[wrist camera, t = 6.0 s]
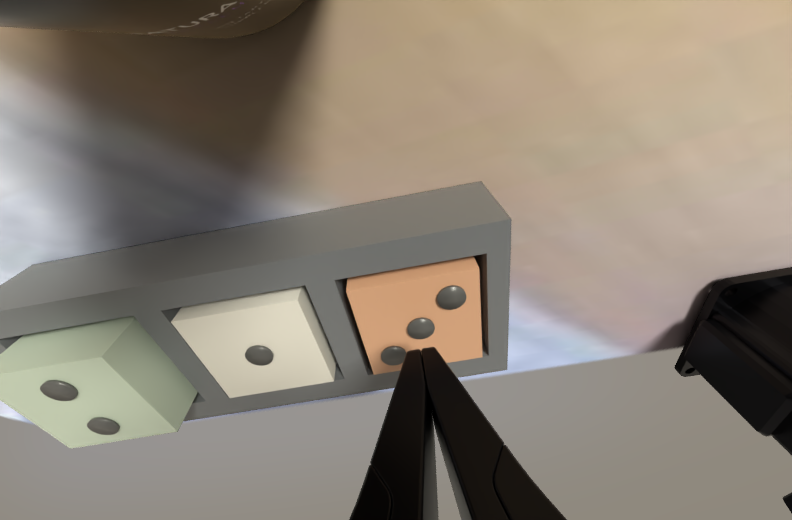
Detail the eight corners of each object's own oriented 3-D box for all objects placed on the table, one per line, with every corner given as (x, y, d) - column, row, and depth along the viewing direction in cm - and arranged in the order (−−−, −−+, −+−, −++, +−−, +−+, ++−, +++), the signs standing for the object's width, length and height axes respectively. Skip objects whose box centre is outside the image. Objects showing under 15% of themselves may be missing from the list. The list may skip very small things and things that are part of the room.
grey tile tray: (481, 181, 11) (511, 218, 9) (485, 316, 15) (506, 369, 13) (32, 264, 12) (-55, 320, 10) (138, 373, 16) (94, 435, 13)
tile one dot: (310, 255, 12) (296, 302, 10) (339, 331, 14) (334, 383, 12) (205, 274, 12) (168, 324, 10) (250, 346, 14) (228, 400, 12)
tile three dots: (460, 228, 12) (480, 270, 9) (465, 310, 14) (483, 359, 12) (350, 248, 12) (346, 293, 10) (373, 325, 14) (374, 376, 12)
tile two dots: (151, 299, 11) (98, 359, 9) (207, 371, 13) (176, 434, 11) (43, 318, 11) (-34, 382, 9) (116, 386, 14) (68, 451, 11)
